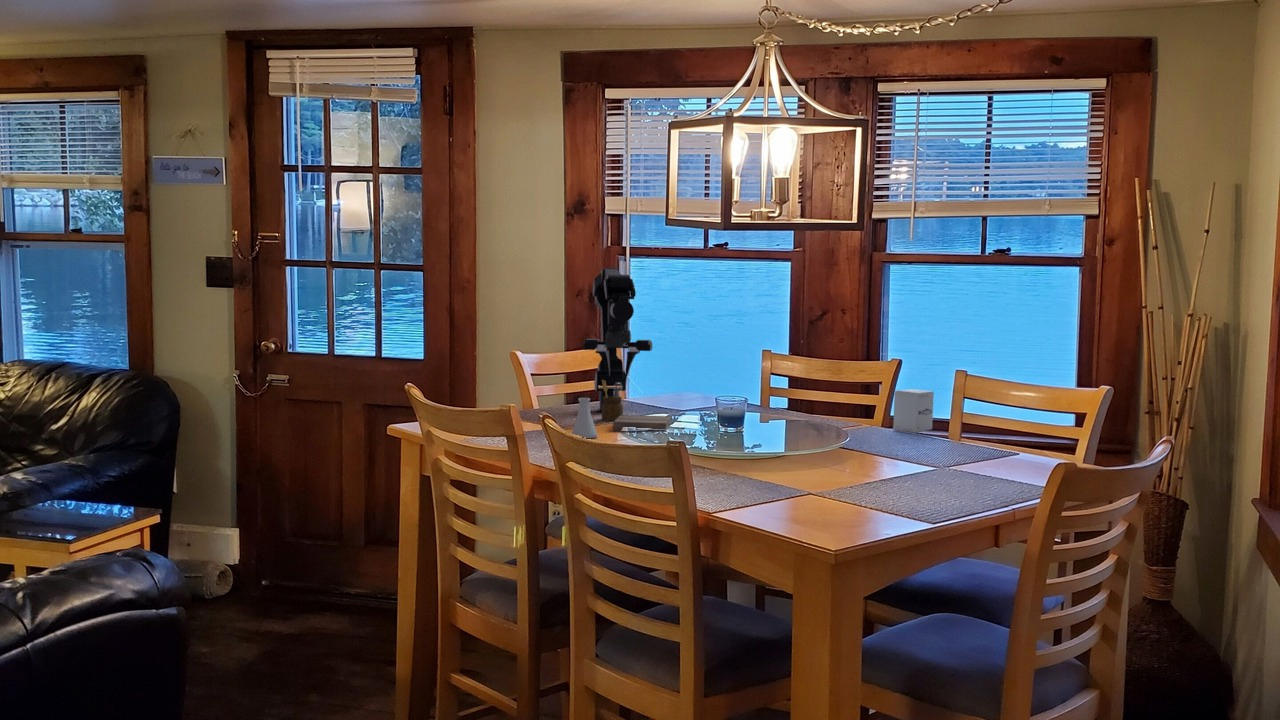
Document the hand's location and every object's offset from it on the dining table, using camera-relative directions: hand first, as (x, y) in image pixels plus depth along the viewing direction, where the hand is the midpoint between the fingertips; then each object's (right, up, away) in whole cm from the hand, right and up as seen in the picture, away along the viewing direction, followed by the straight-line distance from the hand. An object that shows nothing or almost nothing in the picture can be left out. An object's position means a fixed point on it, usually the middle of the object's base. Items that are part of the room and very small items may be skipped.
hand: (617, 375), depth 319 cm
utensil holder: (-2, -13, +3) cm, 14 cm away
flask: (-8, -16, -25) cm, 30 cm away
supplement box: (+77, -16, -22) cm, 82 cm away
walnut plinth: (+7, -14, -9) cm, 18 cm away
